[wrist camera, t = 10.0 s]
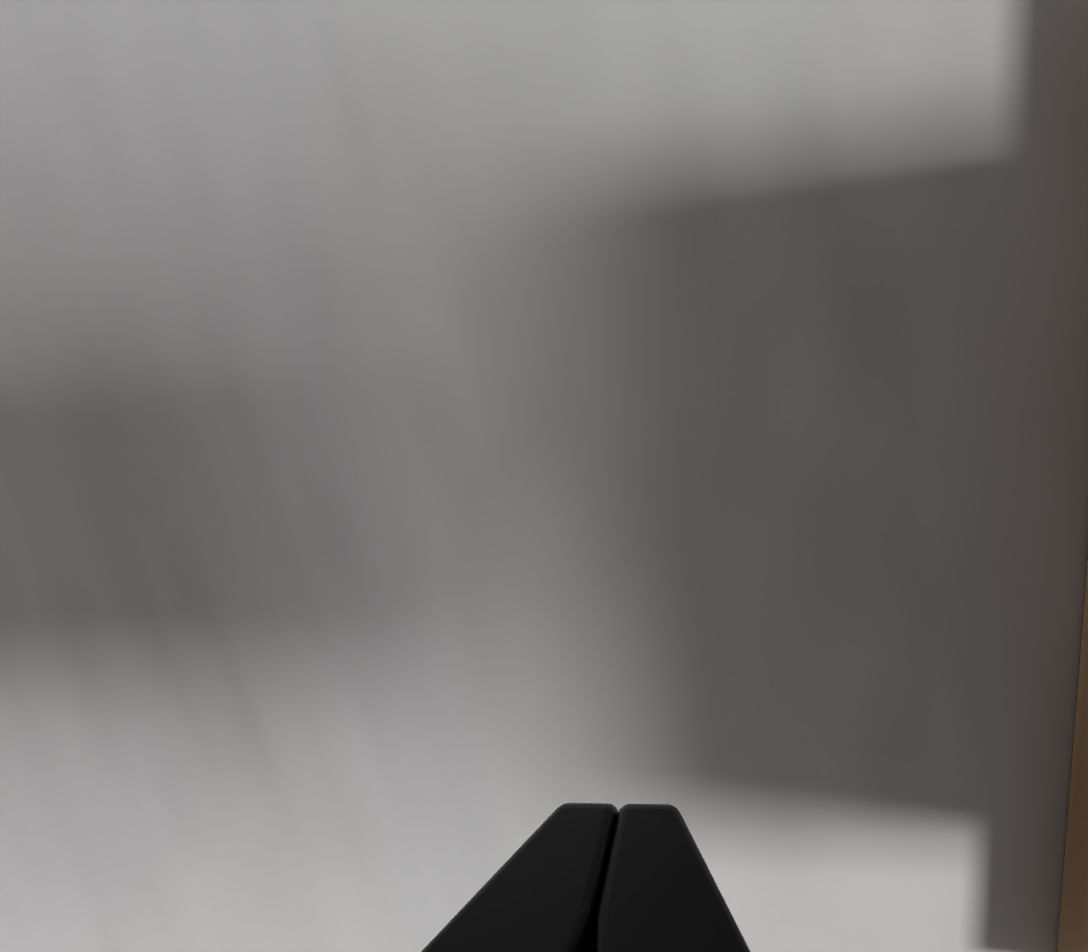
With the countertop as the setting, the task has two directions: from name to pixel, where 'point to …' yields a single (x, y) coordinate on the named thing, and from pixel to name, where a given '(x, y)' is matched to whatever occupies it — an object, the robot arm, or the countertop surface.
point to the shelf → (1077, 820)
